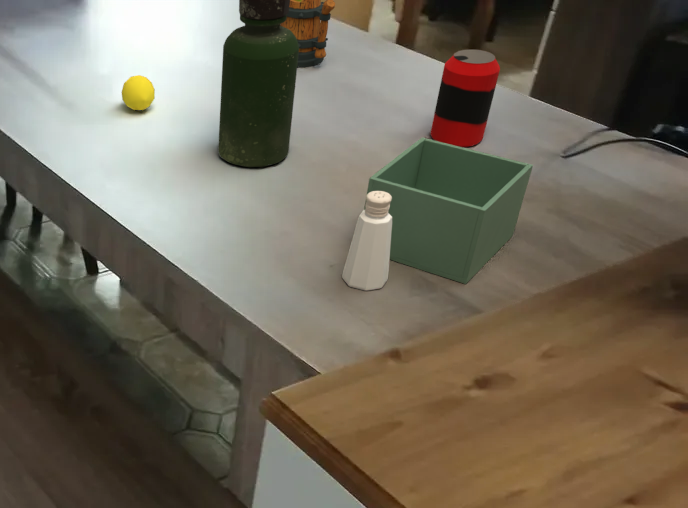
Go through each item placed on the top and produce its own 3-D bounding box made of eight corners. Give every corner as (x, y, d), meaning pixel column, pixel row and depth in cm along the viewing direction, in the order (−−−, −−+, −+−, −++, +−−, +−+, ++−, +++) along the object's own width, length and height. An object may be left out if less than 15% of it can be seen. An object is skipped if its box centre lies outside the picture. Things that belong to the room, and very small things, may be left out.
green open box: (512, 236, 118) (533, 164, 111) (465, 284, 110) (485, 210, 104) (408, 205, 125) (422, 137, 118) (357, 249, 117) (369, 178, 111)
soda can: (421, 131, 142) (437, 50, 134) (466, 124, 143) (485, 44, 135) (444, 151, 137) (462, 68, 129) (491, 144, 138) (513, 62, 130)
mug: (257, 55, 170) (262, -12, 162) (301, 44, 173) (308, -23, 165) (301, 77, 161) (309, 6, 153) (347, 64, 164) (357, -5, 156)
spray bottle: (248, 133, 144) (261, -42, 128) (302, 152, 138) (322, -29, 122) (203, 155, 139) (210, -25, 123) (257, 176, 134) (272, -10, 117)
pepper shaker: (331, 277, 112) (344, 193, 105) (363, 262, 115) (377, 179, 107) (365, 296, 109) (381, 211, 102) (397, 281, 111) (414, 196, 104)
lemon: (160, 114, 152) (160, 81, 148) (129, 119, 151) (128, 86, 147) (146, 99, 157) (146, 66, 153) (116, 104, 156) (115, 71, 152)
